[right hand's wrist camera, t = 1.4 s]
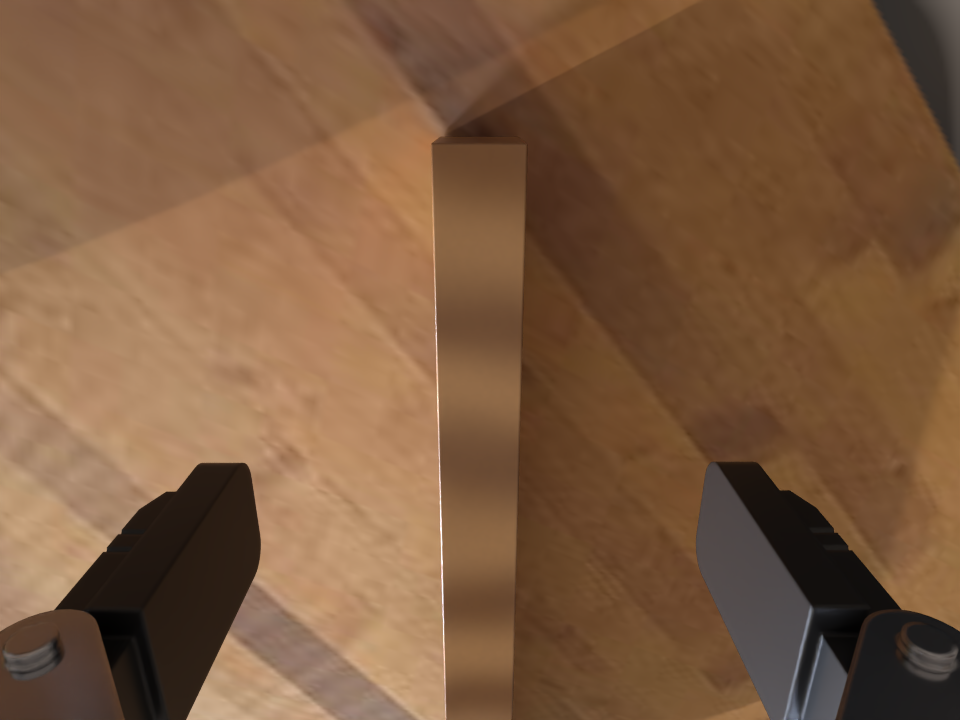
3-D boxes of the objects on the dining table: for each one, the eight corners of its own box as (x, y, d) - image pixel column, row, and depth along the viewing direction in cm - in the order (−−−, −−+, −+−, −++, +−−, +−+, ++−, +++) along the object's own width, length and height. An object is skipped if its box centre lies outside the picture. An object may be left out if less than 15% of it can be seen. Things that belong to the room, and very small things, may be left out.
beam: (439, 136, 35) (430, 143, 29) (519, 136, 35) (527, 143, 29) (452, 787, 53) (449, 873, 47) (505, 787, 53) (508, 874, 47)
